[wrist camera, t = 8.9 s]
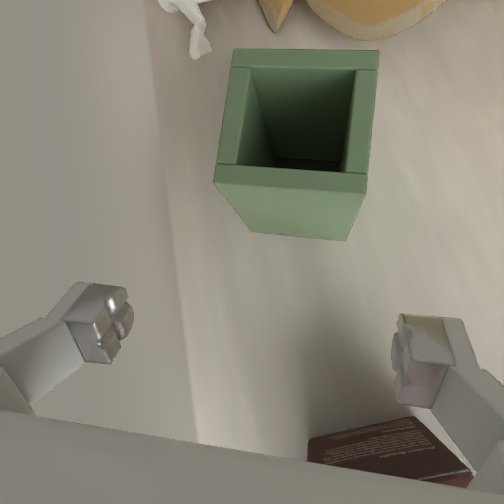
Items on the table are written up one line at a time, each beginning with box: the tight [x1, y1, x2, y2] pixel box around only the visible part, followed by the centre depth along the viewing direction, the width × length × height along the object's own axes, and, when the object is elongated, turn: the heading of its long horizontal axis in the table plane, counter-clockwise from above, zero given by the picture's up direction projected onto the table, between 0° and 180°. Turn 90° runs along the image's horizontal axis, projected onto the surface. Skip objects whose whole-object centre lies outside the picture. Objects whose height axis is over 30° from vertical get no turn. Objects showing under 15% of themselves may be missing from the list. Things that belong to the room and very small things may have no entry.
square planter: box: [213, 49, 380, 241], centre depth 18 cm, size 6×6×9 cm
